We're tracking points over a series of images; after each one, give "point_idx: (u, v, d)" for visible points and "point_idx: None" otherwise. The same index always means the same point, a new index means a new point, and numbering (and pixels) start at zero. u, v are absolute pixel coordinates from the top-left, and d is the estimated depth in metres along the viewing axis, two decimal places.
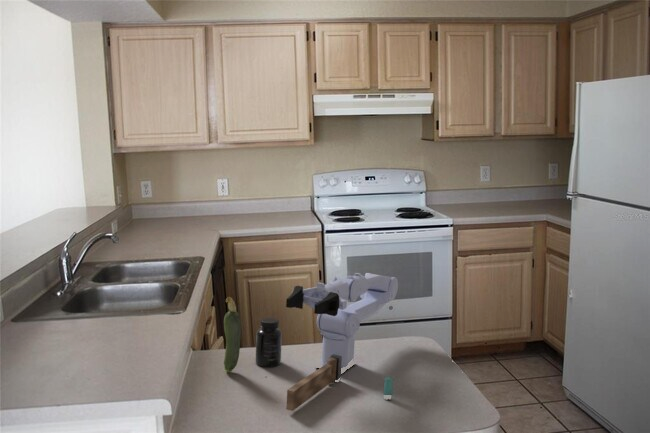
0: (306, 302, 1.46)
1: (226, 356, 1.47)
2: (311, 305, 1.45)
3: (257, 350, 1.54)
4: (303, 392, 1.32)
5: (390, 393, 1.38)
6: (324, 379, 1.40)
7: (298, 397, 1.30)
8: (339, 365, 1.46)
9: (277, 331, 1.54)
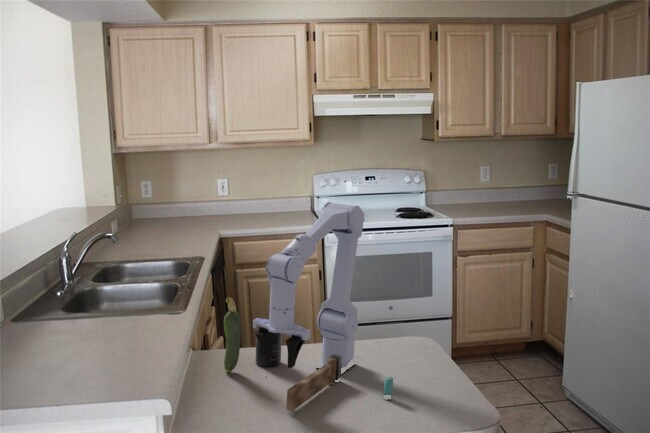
0: None
1: (226, 356, 1.47)
2: None
3: (257, 350, 1.54)
4: (303, 392, 1.32)
5: (390, 393, 1.38)
6: (324, 379, 1.40)
7: (298, 397, 1.30)
8: (339, 365, 1.46)
9: None
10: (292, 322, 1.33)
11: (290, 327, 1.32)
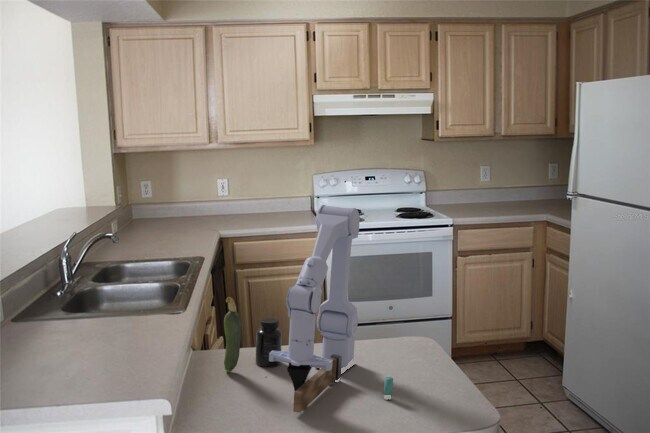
0: None
1: (226, 356, 1.47)
2: None
3: (257, 350, 1.54)
4: (309, 393, 1.31)
5: (390, 393, 1.38)
6: (326, 379, 1.40)
7: (304, 399, 1.29)
8: (339, 365, 1.46)
9: (277, 331, 1.54)
10: None
11: (311, 358, 1.31)
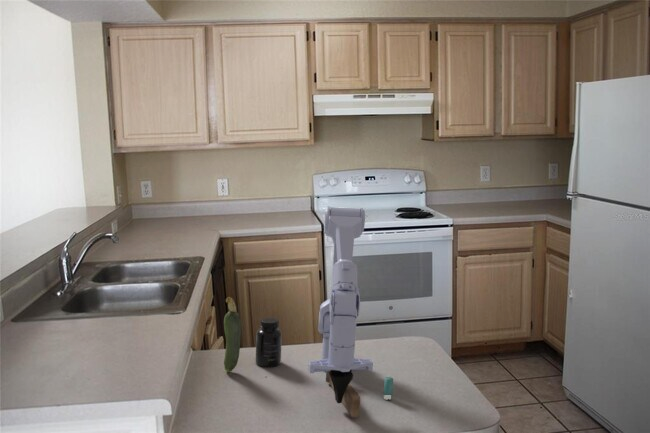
0: None
1: (226, 356, 1.47)
2: None
3: (257, 350, 1.54)
4: None
5: (390, 393, 1.38)
6: None
7: None
8: None
9: (277, 331, 1.54)
10: None
11: (353, 362, 1.31)
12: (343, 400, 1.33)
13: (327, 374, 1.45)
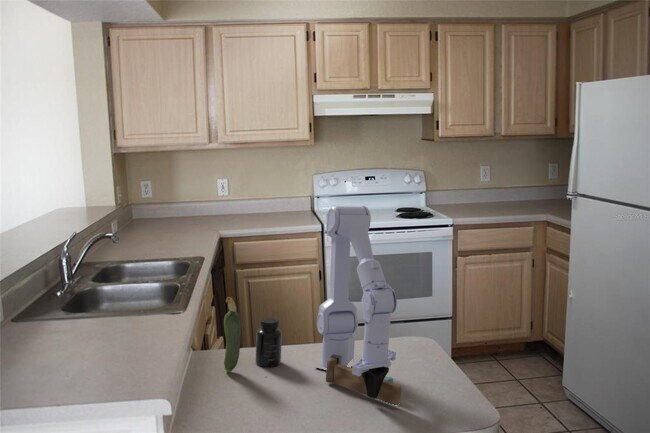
0: None
1: (226, 356, 1.47)
2: None
3: (257, 350, 1.54)
4: None
5: None
6: None
7: None
8: None
9: (277, 331, 1.54)
10: None
11: None
12: None
13: (329, 375, 1.44)
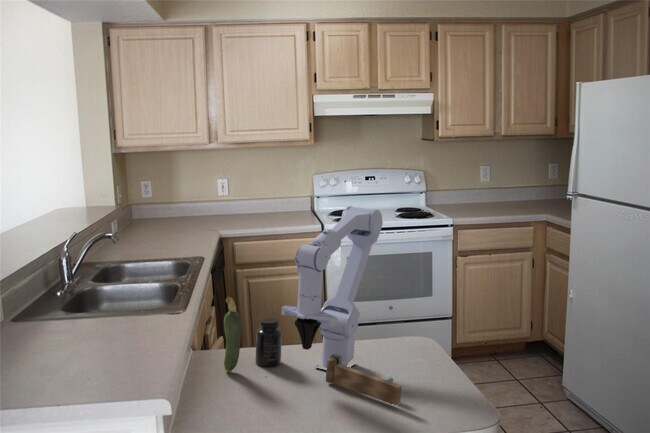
0: None
1: (226, 356, 1.47)
2: None
3: (257, 350, 1.54)
4: None
5: None
6: None
7: None
8: None
9: (277, 331, 1.54)
10: (319, 309, 1.41)
11: (317, 313, 1.40)
12: (373, 394, 1.37)
13: (329, 375, 1.44)
